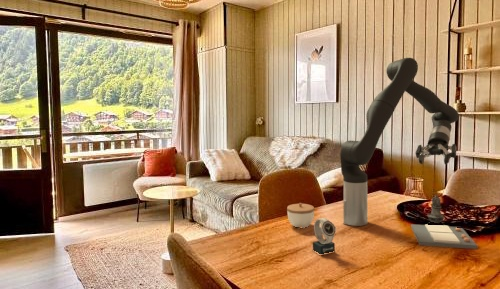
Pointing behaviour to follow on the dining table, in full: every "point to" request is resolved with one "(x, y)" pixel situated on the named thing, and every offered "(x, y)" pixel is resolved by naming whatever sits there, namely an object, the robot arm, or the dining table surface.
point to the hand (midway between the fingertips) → (433, 162)
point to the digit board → (442, 236)
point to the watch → (328, 232)
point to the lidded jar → (300, 214)
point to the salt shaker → (435, 211)
